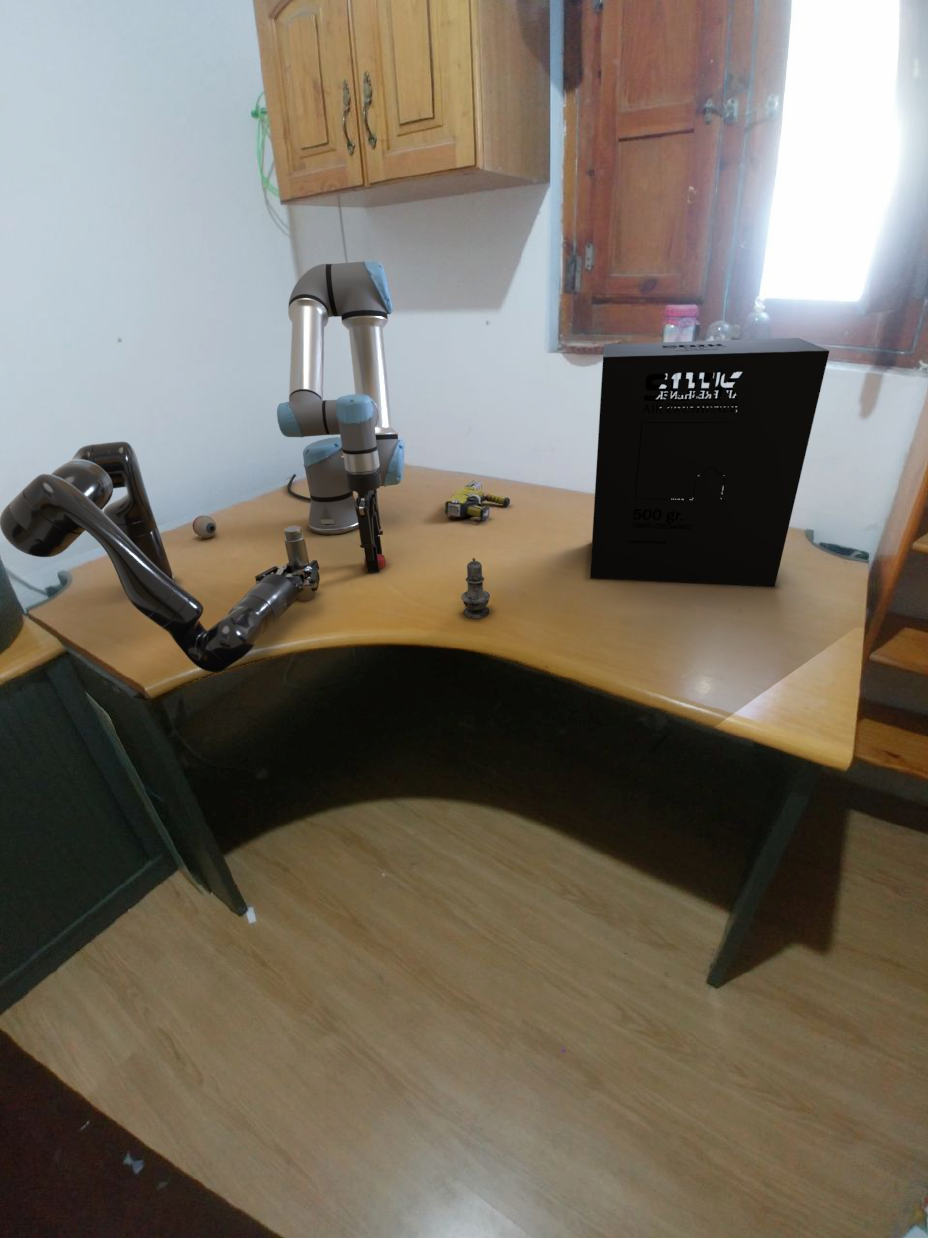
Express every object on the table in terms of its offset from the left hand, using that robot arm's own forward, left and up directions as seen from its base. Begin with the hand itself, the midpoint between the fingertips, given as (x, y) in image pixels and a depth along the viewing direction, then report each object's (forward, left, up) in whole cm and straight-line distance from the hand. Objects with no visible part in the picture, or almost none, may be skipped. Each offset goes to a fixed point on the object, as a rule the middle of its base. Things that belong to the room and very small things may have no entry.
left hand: (305, 563), depth 131 cm
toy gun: (+29, +56, -7) cm, 63 cm away
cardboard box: (+80, +23, -7) cm, 83 cm away
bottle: (0, -3, -7) cm, 7 cm away
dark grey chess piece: (+39, -5, -7) cm, 40 cm away
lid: (+10, +14, -5) cm, 18 cm away
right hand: (+10, +14, -7) cm, 18 cm away
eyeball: (-43, +27, -7) cm, 52 cm away
